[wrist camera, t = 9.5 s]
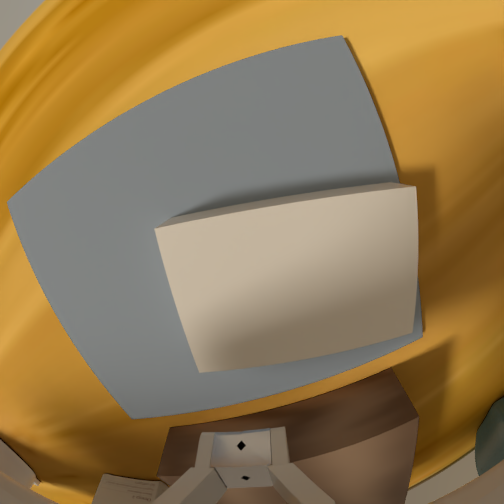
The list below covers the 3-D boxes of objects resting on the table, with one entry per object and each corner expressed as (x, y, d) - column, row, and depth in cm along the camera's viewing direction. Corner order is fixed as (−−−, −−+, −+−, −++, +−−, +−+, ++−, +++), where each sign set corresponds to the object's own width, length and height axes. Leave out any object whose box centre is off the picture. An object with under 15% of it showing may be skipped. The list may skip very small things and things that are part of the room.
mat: (133, 415, 15) (132, 419, 14) (10, 201, 11) (6, 202, 10) (420, 334, 13) (422, 337, 13) (339, 38, 9) (342, 35, 8)
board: (263, 510, 20) (264, 539, 16) (169, 427, 15) (156, 475, 11) (394, 476, 18) (404, 504, 14) (390, 367, 13) (419, 416, 10)
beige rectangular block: (154, 228, 9) (170, 217, 11) (199, 372, 11) (205, 345, 12) (416, 186, 8) (391, 182, 10) (412, 332, 10) (393, 311, 12)
